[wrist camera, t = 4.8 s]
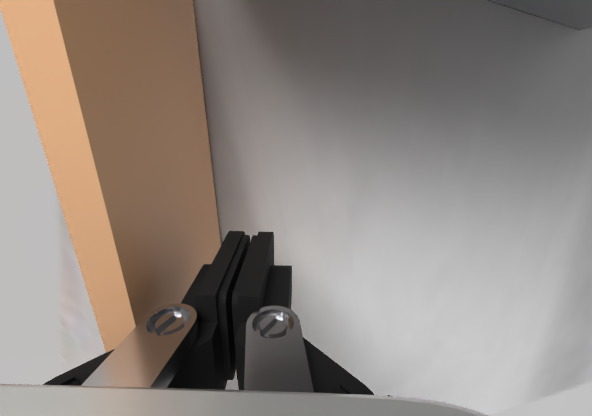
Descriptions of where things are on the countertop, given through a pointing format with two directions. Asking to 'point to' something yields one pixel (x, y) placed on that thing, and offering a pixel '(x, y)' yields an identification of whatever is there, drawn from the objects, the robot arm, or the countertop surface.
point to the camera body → (556, 10)
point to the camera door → (122, 145)
